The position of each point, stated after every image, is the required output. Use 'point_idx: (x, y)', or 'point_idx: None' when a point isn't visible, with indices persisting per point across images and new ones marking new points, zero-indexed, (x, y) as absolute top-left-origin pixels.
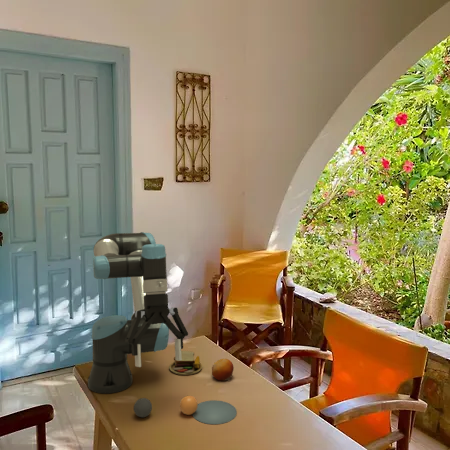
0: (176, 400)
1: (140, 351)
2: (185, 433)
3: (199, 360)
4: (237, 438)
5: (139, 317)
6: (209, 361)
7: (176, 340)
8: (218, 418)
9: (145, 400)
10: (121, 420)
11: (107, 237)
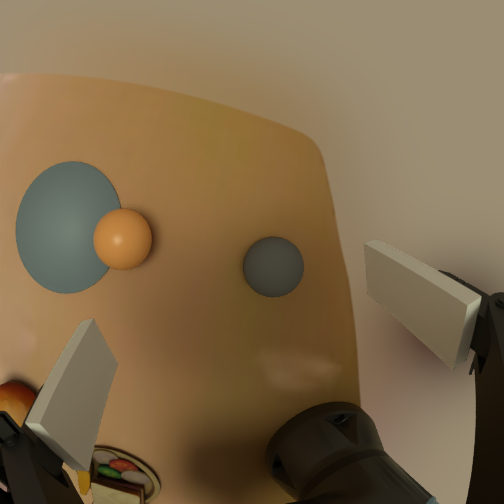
0: (151, 330)
1: (427, 277)
2: (167, 139)
3: (78, 480)
4: (65, 98)
5: None
6: None
7: (68, 442)
8: (64, 186)
9: (273, 260)
10: (325, 258)
11: None
